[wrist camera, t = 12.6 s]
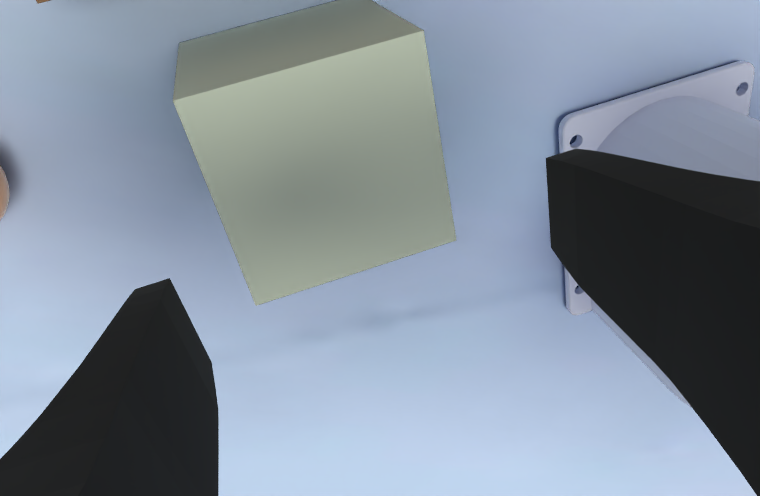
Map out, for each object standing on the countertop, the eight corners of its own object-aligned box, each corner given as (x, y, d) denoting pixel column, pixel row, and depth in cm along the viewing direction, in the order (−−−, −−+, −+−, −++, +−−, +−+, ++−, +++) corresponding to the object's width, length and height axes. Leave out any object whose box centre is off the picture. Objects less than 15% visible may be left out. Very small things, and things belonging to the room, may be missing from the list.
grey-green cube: (394, 159, 21) (456, 240, 16) (240, 206, 21) (256, 305, 16) (360, -7, 18) (423, 30, 13) (178, 42, 18) (173, 101, 13)
